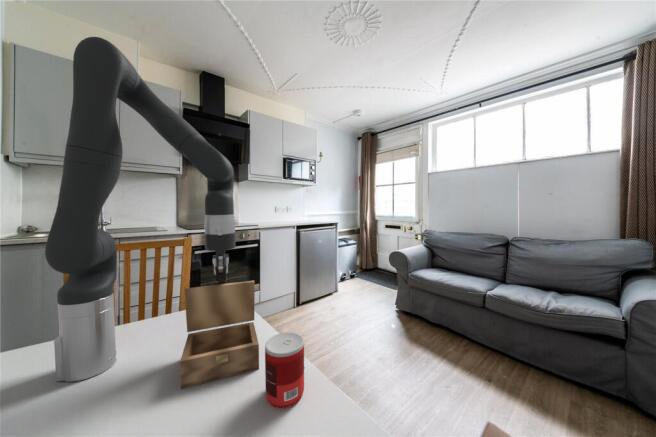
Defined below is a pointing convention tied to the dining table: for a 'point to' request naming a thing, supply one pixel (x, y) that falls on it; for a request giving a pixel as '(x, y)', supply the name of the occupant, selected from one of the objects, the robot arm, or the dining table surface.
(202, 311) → the lid
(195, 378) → the box
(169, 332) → the dining table surface
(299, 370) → the canned food
